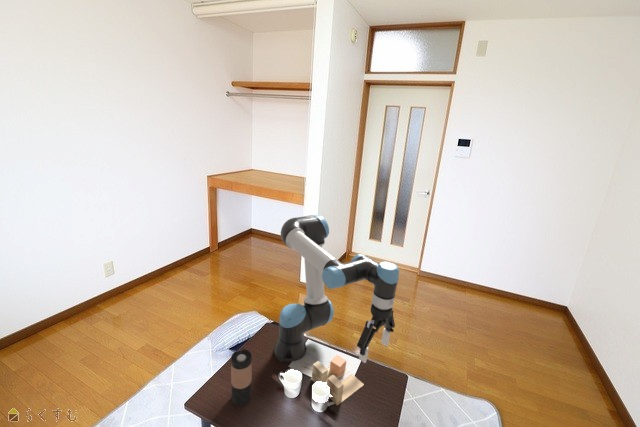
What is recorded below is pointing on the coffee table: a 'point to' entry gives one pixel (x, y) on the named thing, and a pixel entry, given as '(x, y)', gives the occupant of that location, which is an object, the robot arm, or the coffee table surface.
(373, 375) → the coffee table surface
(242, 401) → the travel mug
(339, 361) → the cube
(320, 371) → the wooden slider
